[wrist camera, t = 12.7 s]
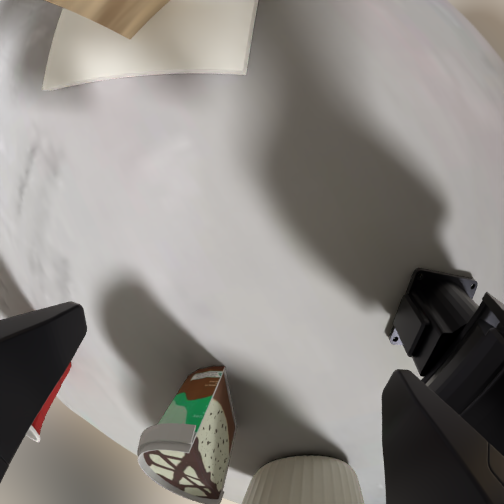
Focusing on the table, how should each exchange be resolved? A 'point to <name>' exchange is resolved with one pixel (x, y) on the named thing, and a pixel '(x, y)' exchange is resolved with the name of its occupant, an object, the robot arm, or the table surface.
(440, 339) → the robot arm
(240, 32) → the cutting board
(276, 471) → the canister
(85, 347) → the table surface
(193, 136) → the table surface
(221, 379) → the food container
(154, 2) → the wooden block
